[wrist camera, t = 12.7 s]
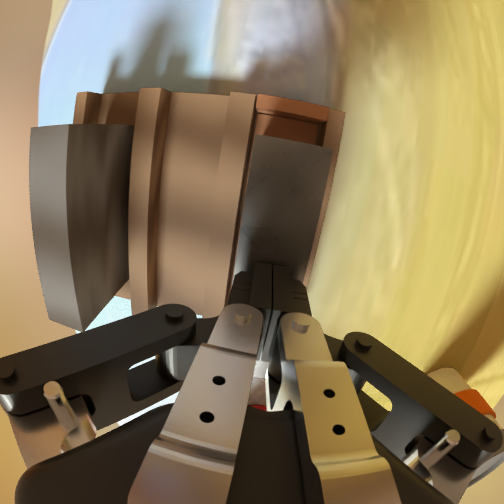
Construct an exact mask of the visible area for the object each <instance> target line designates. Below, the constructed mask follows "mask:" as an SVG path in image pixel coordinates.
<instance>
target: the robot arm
mask: <svg viewBox="0 0 504 504" xmlns="http://www.w3.org/2000/svg"><path fill="white" fill-rule="evenodd" d="M153 356H156V359H153V360H151V361H149V362H146V363H144V364H142V365H139V366H137V367H135V368H132V369H130V370H129V368H130V367H131V366H133V365H134V364H136V363H139V362H141V361H143V360H146V359H148V358H150V357H153ZM260 356H261V361H265V362H268V368H267V372H266V375H265V387H266V404H267V411H264V410H261V409H258V408H255V407H252V406H249V405H247V403H248V399H249V394H250V389H251V384H252V379H253V374H254V369H255V364H256V360H257V361H259V360H260ZM366 381H368V382H369V383H370V384H371V385H373V386H374V387H375V388H377V389H378V390H379V391H380V392H382V393H383V394H384V395H385V396H387V397H388V398H389V399H390V400H391V402H392V410H391V412H390V411H387V410H386V409H384V408H383V407H382V406H381V405H379V404H378V403H377V402H376V401H374V400H373V399H372V398H371V397H369V396H368V395H367V394H366V393H364V392H363V391H362V390H361V389H362V387H363V386H364V384H365V382H366ZM178 391H180V392H179V394H178V396H177V398H176V400H175V403H171V404H167V405H163V406H160V407H157V408H155V409H152V410H150V411H148V412H146V413H144V414H143V415H141V416H139V417H137V418H135V419H133V420H131V421H129V422H127V423H125V424H123V425H122V426H120V427H118V428H116V429H114V430H112V431H110V432H107V433H105V434H103V435H101V436H99V437H97V438H95V436H96V431H97V430H100V429H102V428H104V427H107V426H109V425H111V424H113V423H116V422H118V421H120V420H122V419H124V418H126V417H129V416H131V415H133V414H135V413H137V412H139V411H141V410H143V409H145V408H147V407H149V406H151V405H153V404H155V403H157V402H159V401H161V400H163V399H165V398H167V397H169V396H171V395H173V394H175V393H177V392H178ZM0 404H1V407H2V408H3V410H4V411H5V413H6V414H7V415H8V417H9V419H10V423H11V426H12V429H13V432H14V435H15V438H16V441H17V444H18V446H19V449H20V452H21V454H22V457H23V459H24V462H25V464H26V467H27V470H26V471H25V472H24V474H23V475H22V476H21V478H20V479H19V481H18V484H17V486H16V490H15V504H458V503H459V501H460V499H461V498H462V496H463V494H464V492H465V490H466V489H467V487H468V485H469V483H470V481H471V479H472V477H473V475H474V473H475V471H476V469H478V468H479V467H480V466H481V465H482V464H484V463H485V462H486V461H487V460H488V459H489V458H490V457H492V456H493V455H494V454H495V453H496V452H497V451H498V450H499V449H500V448H501V446H502V443H503V436H502V432H501V430H500V428H499V427H498V426H497V425H496V424H495V423H494V422H493V421H491V420H490V419H489V418H487V417H486V416H484V415H483V414H482V413H480V412H479V411H477V410H476V409H475V408H473V407H472V406H470V405H469V404H467V403H466V402H465V401H463V400H462V399H460V398H459V397H458V396H456V395H455V394H453V393H452V392H450V391H449V390H448V389H446V388H445V387H443V386H442V385H441V384H439V383H438V382H436V381H435V380H433V379H432V378H431V377H429V376H428V375H426V374H425V373H424V372H422V371H421V370H419V369H418V368H417V367H415V366H414V365H412V364H411V363H409V362H408V361H407V360H405V359H404V358H402V357H401V356H400V355H398V354H397V353H395V352H394V351H392V350H391V349H390V348H388V347H387V346H385V345H384V344H383V343H381V342H380V341H378V340H377V339H375V338H374V337H372V336H371V335H369V334H366V333H362V332H351V333H348V334H347V335H346V336H345V337H344V340H343V341H342V340H339V339H336V338H333V337H330V336H328V335H326V334H324V333H323V331H322V328H321V325H320V323H319V322H318V321H317V320H316V319H315V318H313V317H312V315H311V310H310V305H309V301H308V295H307V290H306V287H305V286H304V284H303V283H302V282H301V281H300V280H294V279H291V274H290V268H289V267H283V266H277V265H273V266H272V265H271V264H265V263H259V262H255V265H254V271H253V273H251V272H245V271H240V272H239V273H237V274H236V275H235V276H234V280H233V284H232V288H231V291H230V295H229V299H228V303H227V306H225V307H224V308H223V309H222V310H221V313H220V315H218V316H216V317H212V318H197V317H196V313H195V312H194V311H193V310H192V309H191V308H189V307H187V306H185V305H181V304H165V305H161V306H159V307H156V308H153V309H150V310H147V311H144V312H141V313H138V314H135V315H132V316H129V317H126V318H123V319H120V320H117V321H115V322H112V323H109V324H106V325H103V326H100V327H96V328H93V329H90V330H87V331H84V332H81V333H78V334H75V335H72V336H69V337H66V338H63V339H60V340H57V341H54V342H50V343H47V344H44V345H41V346H38V347H34V348H31V349H28V350H25V351H21V352H18V353H15V354H12V355H9V356H5V357H2V358H0Z"/></svg>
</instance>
